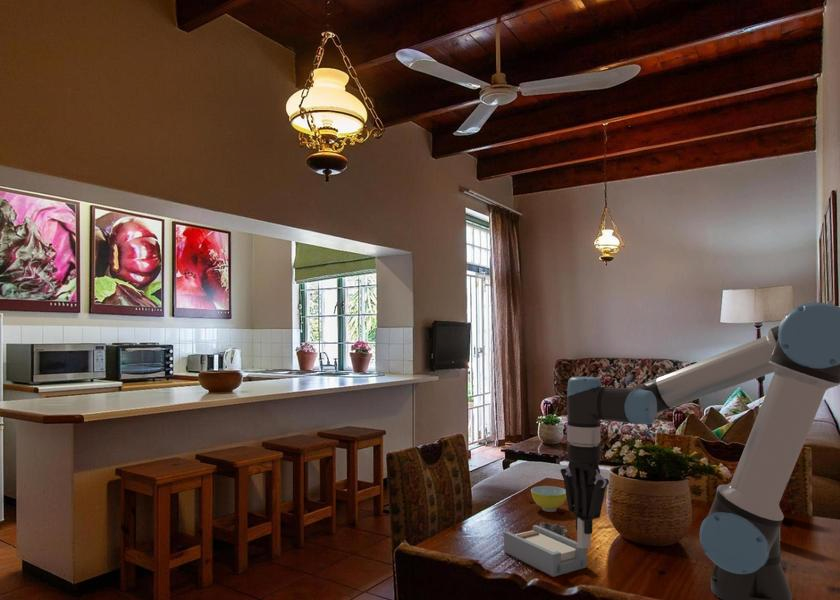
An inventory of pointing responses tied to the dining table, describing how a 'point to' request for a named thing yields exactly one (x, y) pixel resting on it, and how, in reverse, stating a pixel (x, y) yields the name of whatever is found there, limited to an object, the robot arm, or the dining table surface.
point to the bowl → (548, 497)
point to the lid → (549, 544)
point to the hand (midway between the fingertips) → (584, 546)
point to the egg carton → (554, 528)
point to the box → (545, 553)
